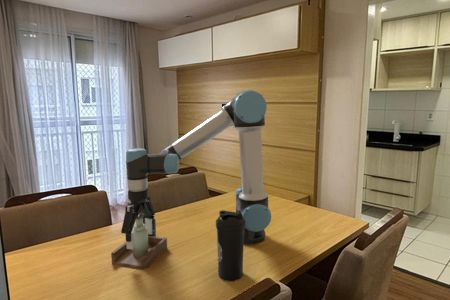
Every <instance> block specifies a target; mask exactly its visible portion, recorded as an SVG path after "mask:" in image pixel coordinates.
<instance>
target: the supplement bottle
mask: <svg viewBox="0 0 450 300" xmlns="http://www.w3.org/2000/svg"><path fill="white" fill-rule="evenodd" d="M141 214H143V212H141ZM145 219H146V216H145V215H144V214H143V224H145ZM156 222H157V221H156V218H155V217H154V218H152V235H151V234H148V236H155V237H157V223H156Z"/></svg>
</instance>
